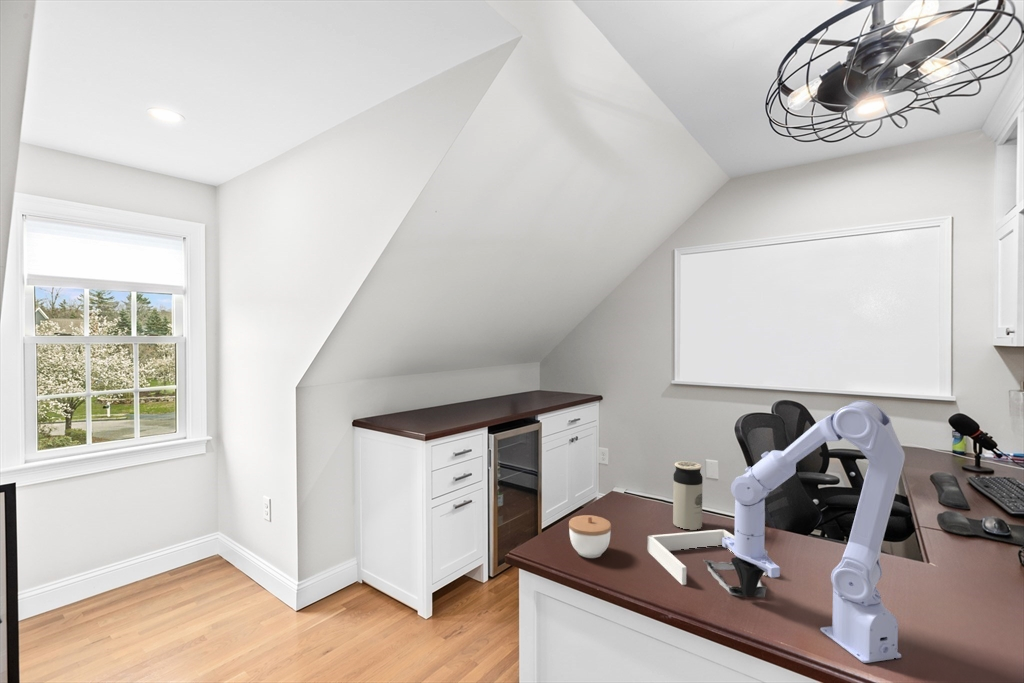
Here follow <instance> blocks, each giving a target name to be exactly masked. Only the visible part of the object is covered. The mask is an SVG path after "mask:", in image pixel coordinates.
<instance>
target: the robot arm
mask: <svg viewBox="0 0 1024 683" xmlns="http://www.w3.org/2000/svg"><path fill="white" fill-rule="evenodd" d="M842 439H844V440H846V441H848V443H850V444H853V445H854V446H855V447H856V448H857V449H859V451H860V452H861V453H862V454H863V455H864V456H865V458H866V459H867V461H868V464H867V465H868V466H867V470H866V473H865V476H864V480H863V484H862V489H861V492H860V497H859V500H858V504H857V508H856V511H855V516H854V520H853V523H852V526H851V531H850V533H849V538H848V542H847V544H846V547H845V550H844V552H843V554H842V556H841V560H840V562H838V565H836V566H835V567H834V568H833V569H832V571H831V574H830V581H831V584H832V620H831V622H832V623H831V624H832V625H831V626H823V627H820V631H821V632H822V633H823V634H824V635H826V636H827V637H828V638H830V639H831V640H832V641H834V642H835V643H836V644H838V645H839V646H840V647H841V648H843V649H844V650H846V651H847V652H848V653H850V654H851V655H852V656H853V657H855V658H856V659H858V661H861V663H863V664H868V663H875V662H880V661H886V660H887V661H889V660H894V658H896V659H900V658H902V654H901V653H900V652H898V647H899V646H898V644H899V643H898V642H899V637H898V636H899V624H898V619H897V618H896V616H895V615H894V614H893V613H892V612H891V611H890V610H888V609H887V607H886V606H885V605H884V604H883V601H882V596H881V594H880V592H879V590H878V588H877V584H878V582H879V581H880V579H881V578H882V575H883V569H882V566H881V562H880V557H881V554H882V552H881V551H882V544H883V541H884V538H885V533H886V530H887V526H888V522H889V518H890V515H891V511H892V508H893V504H894V500H895V497H896V492H897V490H898V486H899V482H900V478H901V474H902V471H903V467H904V463H905V459H906V453H905V451H904V449H903V447H902V445H901V442H900V441H899V437H898V436H897V433H896V432H895V429H894V427H893V424H892V421H891V418H890V417H889V416H888V415H887V414H886V413H885V411H883V410H882V409H881V408H880V407H879V406H878V405H877V404H875V403H873V402H872V401H868V400H855V401H853V402H850V403H849V404H848V405H845V406H843V407H840V408H839V409H837V411H835V412H834V413H831V414H830V415H828V416H826V417H824V418H822V419H821V420H819V421H817V422H815V423H814V424H813V425H812V426H811V427H810V428H808V429H807V430H806V431H805V432H804V433H803V434H802V435H800V436H799V437H798V438H797V439H795V440H794V441H793V442H792V443H791V444H790V445H788V446H787V447H786V448H785V449H784V450H776V449H774V450H771V451H770V452H769V451H765V452H763V453H762V454H761V455H760V456H761V459H760V460H759V461H758V462H756V463H755V464H754V465H753V466H752V467H751V466H748V467H746V468H745V469H744V471H745V472H746V473H744V474H742V475H739V476H737V477H735V478H734V480H733V481H732V482H731V484H730V485H731V486H730V492H731V495H732V497H733V498H734V499H735V500H734V502H735V503H734V536H735V537H734V539H733V538H731V537H723V538H722V546H721V547H723V548H725V549H726V548H727V547H728V548H729V549H731V551H732V552H733V553H734V554H733V553H732V552H731V551H730V552H731V553H732V554H733V555H735V557H732V558H731V561H730V563H731V562H732V564H733V565H734V567H735V569H736V570H735V571H736V575H737V578H738V581H739V584H740V587H741V589H742V593H743V594H744V595H745V596H744V597H753V596H752V595H754V594H755V591H756V588H757V585H758V582H759V580H761V578H762V576H764V575H763V573H764V572H767V573H768V576H767V577H769V578H771V579H773V578H778V577H781V576H780V574H781V570H780V569H781V567H780V566H779V565H777V564H776V563H775V562H774V561H773V560H772V559H771V558H770V557H769V556H768V550H766V549H765V542H766V541H765V538H766V537H765V536H766V534H765V533H766V532H765V530H766V526H765V524H766V522H765V521H766V511H765V510H766V509H765V508H766V505H765V504H766V501H765V498H766V497H768V495H769V493H770V492H773V491H774V490H775V489H776V488H778V487H779V486H780V485H782V484H783V483H785V482H786V481H788V479H790V478H791V477H792V476H794V475H795V474H796V472H797V471H796V470H797V468H796V467H797V463H799V462H800V461H801V460H803V459H804V458H805V457H807V456H808V455H810V454H811V453H812V452H815V451H816V450H817V448H819V447H821V446H822V445H823V444H824V443H826V442H839V441H841V440H842Z"/></svg>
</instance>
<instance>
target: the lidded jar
mask: <svg viewBox="0 0 1024 683" xmlns="http://www.w3.org/2000/svg"><path fill="white" fill-rule="evenodd" d="M568 528H569V529H568V530H569V532H568V533H569V538H570V540H569V541H570V543H571V545H572V547H573V549H574V550H575V551H576V552H577V554H578V555H579V556H581V557H583V558H586V559H596V558H597V559H598V558H600V557H601V556H602V554H603V553H604V552H605V551H606V550H607V548H608V547H609V544H610V541H611V529H612V524H611V522H610V521H609V520H608V519H606V518H604V517H601V516H598V515H591V514H590V515H588V514H587V515H586V514H584V515H583V514H582V515H577V516H574V517H572V518H570V519H569V521H568Z"/></svg>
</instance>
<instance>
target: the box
mask: <svg viewBox="0 0 1024 683" xmlns="http://www.w3.org/2000/svg"><path fill="white" fill-rule="evenodd" d="M723 537H731V538H733V539H734V537H735V534H732V533H731V532H729V531H727V530H726V529H713V530H712V529H711V530H710V529H709V530H701V531H689V532H677V533H665V534H663V533H662V534H652V535H647V541H646V542H647V543H646V544H647V549H646V551H647V553H648V554H650V555H651V556H652V557H653V558H654V559H655V561H657V562H658V563H659V564H660V565H661V566H662V567H663V568H664V569H665V570H666V571H667V572H668V573H669V574H671V576H672V577H673V578H674V579H675V580H676V581H677V582H679V583H680V584H681V586H685V585H687V566H686V565H685V564H683V563H682V562H681V561H680V560H679V559H678V558H677V557H676V556H675V555H673V553H671V552H672V551H682V550H681V549H684V550H690V549H689V548H695V549H698V548H697V547H706V548H708V547H707V546H717V547H719V546H718V545H722V538H723ZM727 548H728V547H727ZM728 549H729V548H728ZM728 549H727V550H728ZM729 550H730V551H729ZM729 550H728V551H729V552H731V549H729ZM764 575H765V576H764ZM767 575H768V573H767V572H764V573H763V575H762V576H764V577H768V576H767Z"/></svg>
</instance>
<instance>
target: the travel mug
mask: <svg viewBox="0 0 1024 683" xmlns="http://www.w3.org/2000/svg"><path fill="white" fill-rule="evenodd" d="M674 466H675V471H674V472H673V482H672V483H673V484H672V485H673V490H672V492H673V495H672V496H673V497H672V498H673V501H672V504H673V506H672V523H673V525H674V526H675V527H677V528H678V527H680V528H679V529H681V528H683V529H682V530H684V529H690V530H689V531H697V529H698V530H700V529H702V528H703V481H704V480H703V475H702V472H701V469H702V467H703V466H702V464H700V463H698V462H695V461H687V460H685V461H683V460H682V461H676V462H675V463H674ZM701 527H702V528H701Z"/></svg>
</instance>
